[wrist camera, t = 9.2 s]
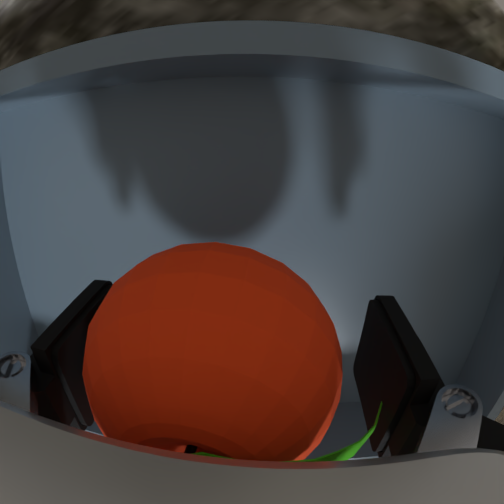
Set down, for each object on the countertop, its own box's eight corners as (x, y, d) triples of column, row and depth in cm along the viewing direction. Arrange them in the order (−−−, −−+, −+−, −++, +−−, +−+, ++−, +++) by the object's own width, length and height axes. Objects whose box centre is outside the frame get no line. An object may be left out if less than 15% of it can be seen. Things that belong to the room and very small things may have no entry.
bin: (524, 112, 11) (591, 119, 6) (451, 391, 17) (476, 444, 13) (0, 98, 12) (-66, 104, 7) (51, 366, 19) (17, 413, 14)
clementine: (368, 220, 10) (487, 358, 3) (336, 381, 13) (361, 535, 6) (128, 209, 10) (-24, 314, 4) (149, 367, 13) (87, 504, 6)
